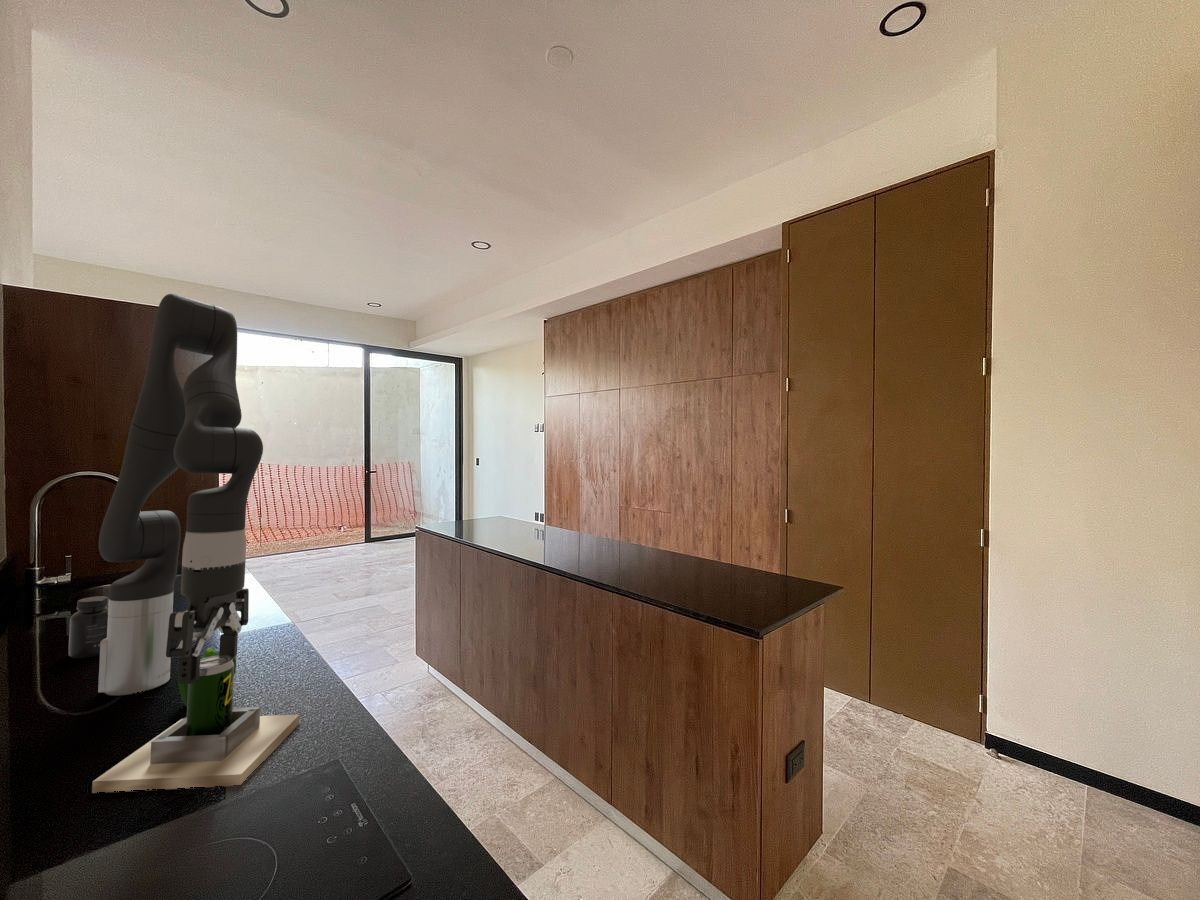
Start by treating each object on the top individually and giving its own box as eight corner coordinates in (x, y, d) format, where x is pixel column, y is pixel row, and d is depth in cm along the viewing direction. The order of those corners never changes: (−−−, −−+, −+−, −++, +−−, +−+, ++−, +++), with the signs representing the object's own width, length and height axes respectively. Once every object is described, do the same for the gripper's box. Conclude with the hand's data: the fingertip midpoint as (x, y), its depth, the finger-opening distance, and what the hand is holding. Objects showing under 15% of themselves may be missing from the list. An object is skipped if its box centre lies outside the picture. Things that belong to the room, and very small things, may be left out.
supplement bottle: (61, 655, 109) (64, 600, 109) (102, 645, 115) (104, 593, 115) (78, 661, 106) (80, 604, 107) (118, 650, 113) (121, 596, 113)
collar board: (92, 793, 65) (93, 757, 65) (181, 728, 81) (182, 699, 81) (240, 785, 67) (241, 751, 67) (299, 723, 83) (300, 696, 83)
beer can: (182, 758, 70) (186, 672, 70) (187, 740, 74) (191, 659, 75) (230, 746, 73) (233, 664, 73) (232, 730, 77) (235, 652, 78)
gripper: (219, 551, 81) (214, 651, 81) (149, 570, 67) (143, 692, 66) (268, 551, 82) (263, 651, 81) (209, 571, 68) (203, 691, 67)
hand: (209, 669), depth 74 cm, fingers open, 8 cm apart
